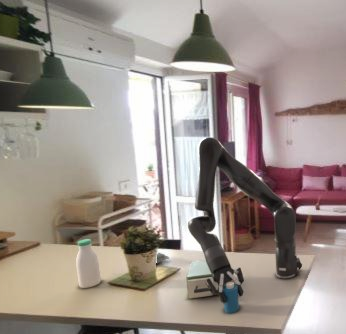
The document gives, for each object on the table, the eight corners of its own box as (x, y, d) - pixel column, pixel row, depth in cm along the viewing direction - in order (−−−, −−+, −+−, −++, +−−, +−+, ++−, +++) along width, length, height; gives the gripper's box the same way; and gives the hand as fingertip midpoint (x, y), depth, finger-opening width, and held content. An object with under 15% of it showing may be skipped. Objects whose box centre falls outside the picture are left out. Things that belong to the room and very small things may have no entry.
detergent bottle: (239, 304, 130) (237, 279, 128) (238, 311, 125) (237, 285, 123) (225, 306, 129) (223, 281, 127) (224, 314, 124) (222, 287, 122)
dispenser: (221, 293, 138) (220, 272, 136) (188, 298, 134) (186, 277, 133) (224, 277, 152) (222, 257, 150) (193, 281, 148) (191, 261, 147)
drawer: (219, 299, 132) (217, 282, 130) (187, 304, 129) (185, 286, 127) (222, 278, 149) (220, 262, 147) (194, 282, 146) (192, 266, 144)
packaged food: (156, 256, 174) (155, 247, 173) (170, 261, 168) (169, 252, 167) (139, 263, 167) (138, 253, 166) (153, 268, 161) (152, 259, 160)
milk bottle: (103, 283, 147) (97, 240, 144) (81, 290, 142) (74, 245, 138) (98, 277, 152) (93, 236, 149) (77, 284, 147) (71, 241, 143)
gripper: (201, 261, 124) (217, 303, 118) (236, 249, 134) (254, 287, 128) (196, 270, 128) (212, 310, 122) (231, 258, 138) (247, 295, 132)
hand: (233, 298), depth 125 cm, fingers open, 6 cm apart
